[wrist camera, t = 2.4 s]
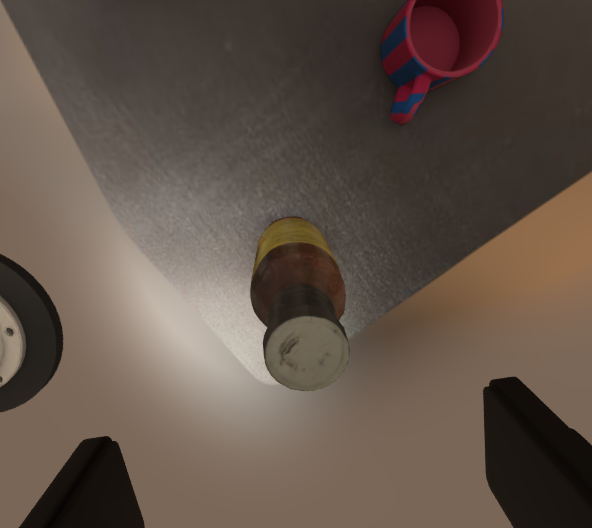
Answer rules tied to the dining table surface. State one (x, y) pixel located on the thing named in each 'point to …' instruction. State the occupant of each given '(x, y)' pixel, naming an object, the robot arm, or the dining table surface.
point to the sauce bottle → (299, 305)
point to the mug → (436, 46)
